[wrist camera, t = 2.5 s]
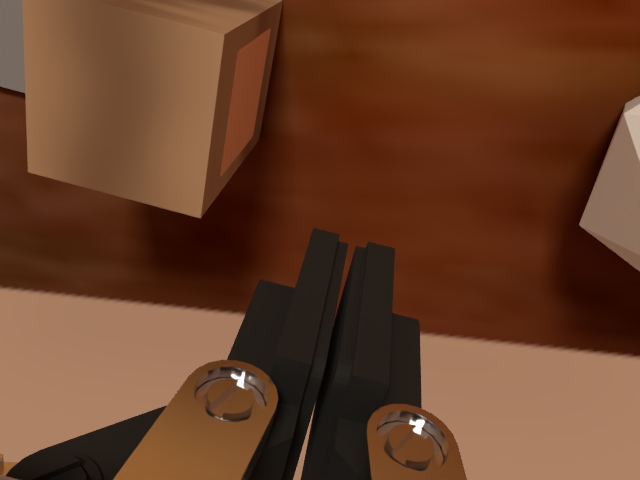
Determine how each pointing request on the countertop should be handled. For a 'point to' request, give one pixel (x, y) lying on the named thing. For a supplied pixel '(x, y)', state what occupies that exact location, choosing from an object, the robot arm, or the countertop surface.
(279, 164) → the countertop surface
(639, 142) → the die
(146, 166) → the block
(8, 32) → the mat
